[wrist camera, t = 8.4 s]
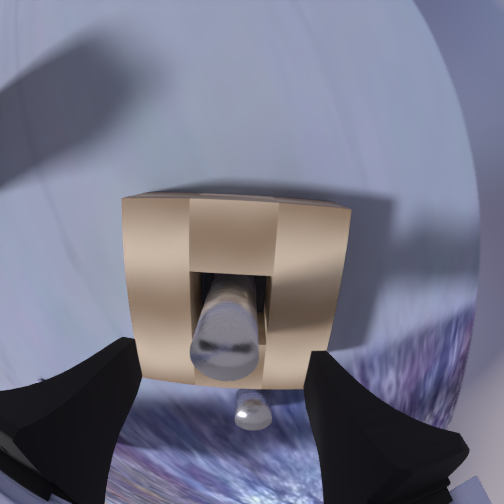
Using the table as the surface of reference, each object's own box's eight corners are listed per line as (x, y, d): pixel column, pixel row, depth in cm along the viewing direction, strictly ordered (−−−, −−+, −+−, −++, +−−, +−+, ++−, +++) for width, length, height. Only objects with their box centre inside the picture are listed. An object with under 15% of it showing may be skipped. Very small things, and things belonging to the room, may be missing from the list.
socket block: (306, 355, 20) (316, 388, 17) (157, 345, 20) (142, 377, 16) (329, 201, 17) (351, 209, 13) (147, 192, 17) (121, 198, 13)
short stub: (268, 406, 22) (269, 430, 19) (235, 405, 22) (234, 429, 19) (271, 385, 21) (273, 409, 19) (236, 383, 21) (234, 408, 18)
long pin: (252, 306, 19) (253, 384, 11) (210, 300, 19) (188, 375, 11) (258, 267, 18) (264, 332, 11) (214, 260, 18) (190, 322, 11)
